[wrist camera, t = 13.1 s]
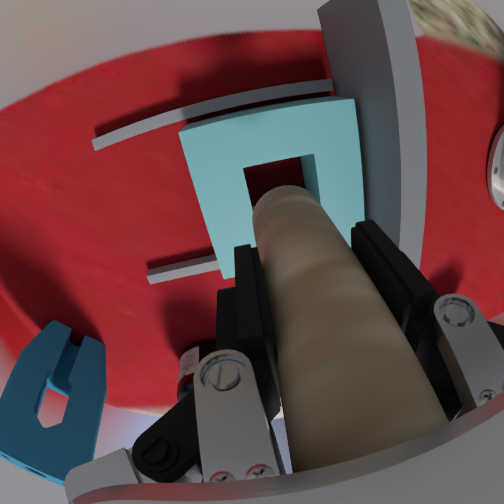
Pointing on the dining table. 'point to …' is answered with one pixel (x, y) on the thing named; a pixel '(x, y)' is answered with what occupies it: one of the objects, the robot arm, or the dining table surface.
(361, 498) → the robot arm
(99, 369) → the block
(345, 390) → the dowel
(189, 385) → the ink bottle
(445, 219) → the dining table surface
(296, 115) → the socket block
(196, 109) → the backstop wall
